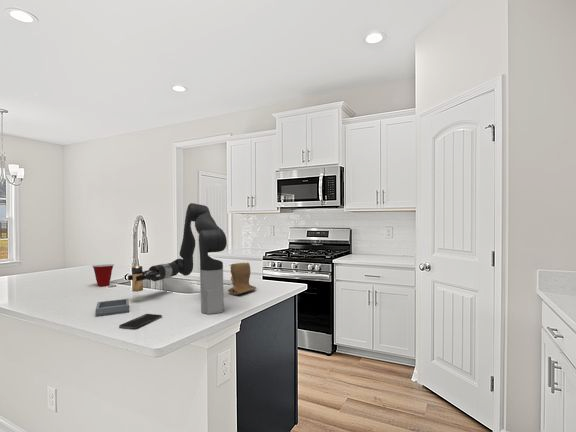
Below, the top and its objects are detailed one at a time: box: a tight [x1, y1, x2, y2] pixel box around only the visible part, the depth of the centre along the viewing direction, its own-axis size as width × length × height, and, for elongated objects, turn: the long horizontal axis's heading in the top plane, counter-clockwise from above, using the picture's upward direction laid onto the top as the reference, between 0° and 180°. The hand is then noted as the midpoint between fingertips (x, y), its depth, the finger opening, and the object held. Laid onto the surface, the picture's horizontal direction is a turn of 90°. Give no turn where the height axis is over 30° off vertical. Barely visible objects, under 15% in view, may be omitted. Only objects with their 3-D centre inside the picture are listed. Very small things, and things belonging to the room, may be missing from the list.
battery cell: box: [131, 264, 144, 293], centre depth 159 cm, size 4×4×12 cm
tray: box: [95, 298, 130, 318], centre depth 145 cm, size 12×12×3 cm
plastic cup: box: [92, 263, 115, 288], centre depth 195 cm, size 11×11×12 cm
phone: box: [118, 313, 163, 331], centre depth 129 cm, size 8×1×15 cm
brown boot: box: [227, 262, 257, 296], centre depth 174 cm, size 15×12×15 cm
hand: (132, 278), depth 156 cm, fingers closed on battery cell, 4 cm apart
